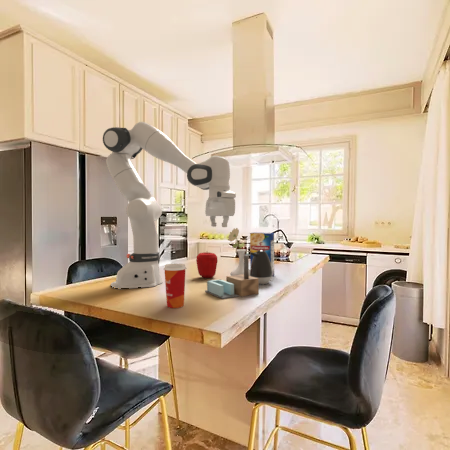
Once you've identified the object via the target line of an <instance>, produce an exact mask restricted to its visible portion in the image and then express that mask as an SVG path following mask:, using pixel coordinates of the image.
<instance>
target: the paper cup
mask: <svg viewBox="0 0 450 450" xmlns="http://www.w3.org/2000/svg"><path fill="white" fill-rule="evenodd" d="M186 270H187V267H186V264H185V263H167V264H165V265H164V267H163V271H164V283H165V294H166V307H167V308H169V307H170V308H169V309H178V308H183V307H184V304H185V289H186V287H185V285H186Z"/></svg>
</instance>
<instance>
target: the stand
mask: <svg viewBox="0 0 450 450" xmlns="http://www.w3.org/2000/svg"><path fill="white" fill-rule="evenodd" d="M249 261H250V259H249V255H247V254H246V255H245V254H244V275H243V274H241V275H233V276H231V275H227V276H226V280H225V281H226V282H229V283H232V284H234V294H237V295H239V297H246V296H251V295H252V296H253V295H259V285H260V284H258V278H255V277H251V276H249V270H250V268H249V266H250V265H249Z"/></svg>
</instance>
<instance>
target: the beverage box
mask: <svg viewBox="0 0 450 450" xmlns="http://www.w3.org/2000/svg"><path fill="white" fill-rule="evenodd" d="M249 241H250V243H249V244H250V245H249V246H250V247H249V248H250V249H249V250H250V251H249V252H250V253H251V252H253V253H256V252H257V251H258V250H263V251H265V252H266V253H267V255H268V257H269V260H270V263H271V267H272V277H273V276H275V232H249ZM250 253H249V254H250ZM253 257H254V256H253V255H251V254H250V257H249V258H250V259H249V261H250V265H249V266H250V268H251V263H252V260H253ZM250 268H249V269H250Z"/></svg>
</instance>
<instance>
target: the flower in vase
mask: <svg viewBox="0 0 450 450" xmlns="http://www.w3.org/2000/svg"><path fill="white" fill-rule="evenodd" d="M239 233H240V229H239V228H238V227H236V228H233V229H232V230H231V231H230V232H229V234H228V236H227V238H228V239H227V241H229V242H230V243H231V242H233V241H235V240H236V242H237V243H234V244H233V245H232V246H231V247H232V248H233V249H236V253H237V254H238V261H239V262H238V265H237V266H236V267H235V268H233V269H232V270H231V271H230V272H229V273H230V275H229V276H233V275H241V274H243V275H244V255H245V253H246V252H247V249H241V248H243V247H245V242H244V241H243V242H242V243H239V240H238V236H239ZM237 247H238V248H239V249H237ZM249 276H250V269H249Z"/></svg>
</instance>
